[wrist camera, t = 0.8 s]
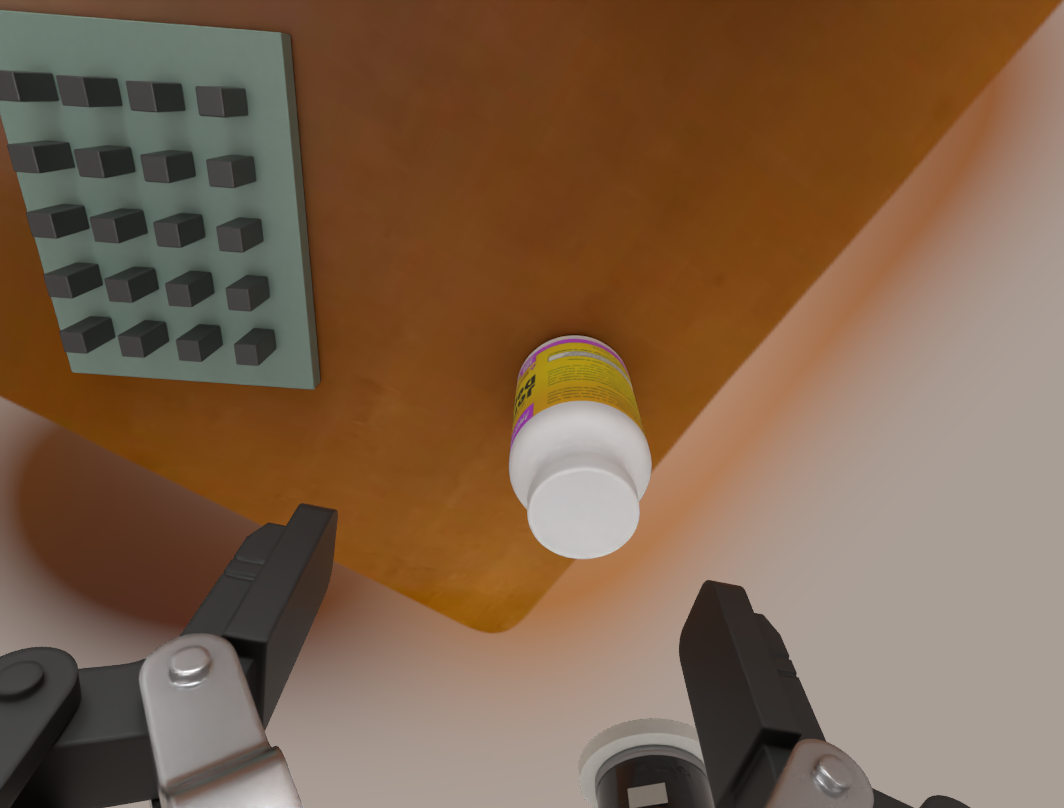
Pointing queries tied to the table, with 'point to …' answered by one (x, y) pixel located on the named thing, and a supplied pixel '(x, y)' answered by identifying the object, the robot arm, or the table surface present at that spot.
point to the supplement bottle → (578, 448)
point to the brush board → (164, 195)
